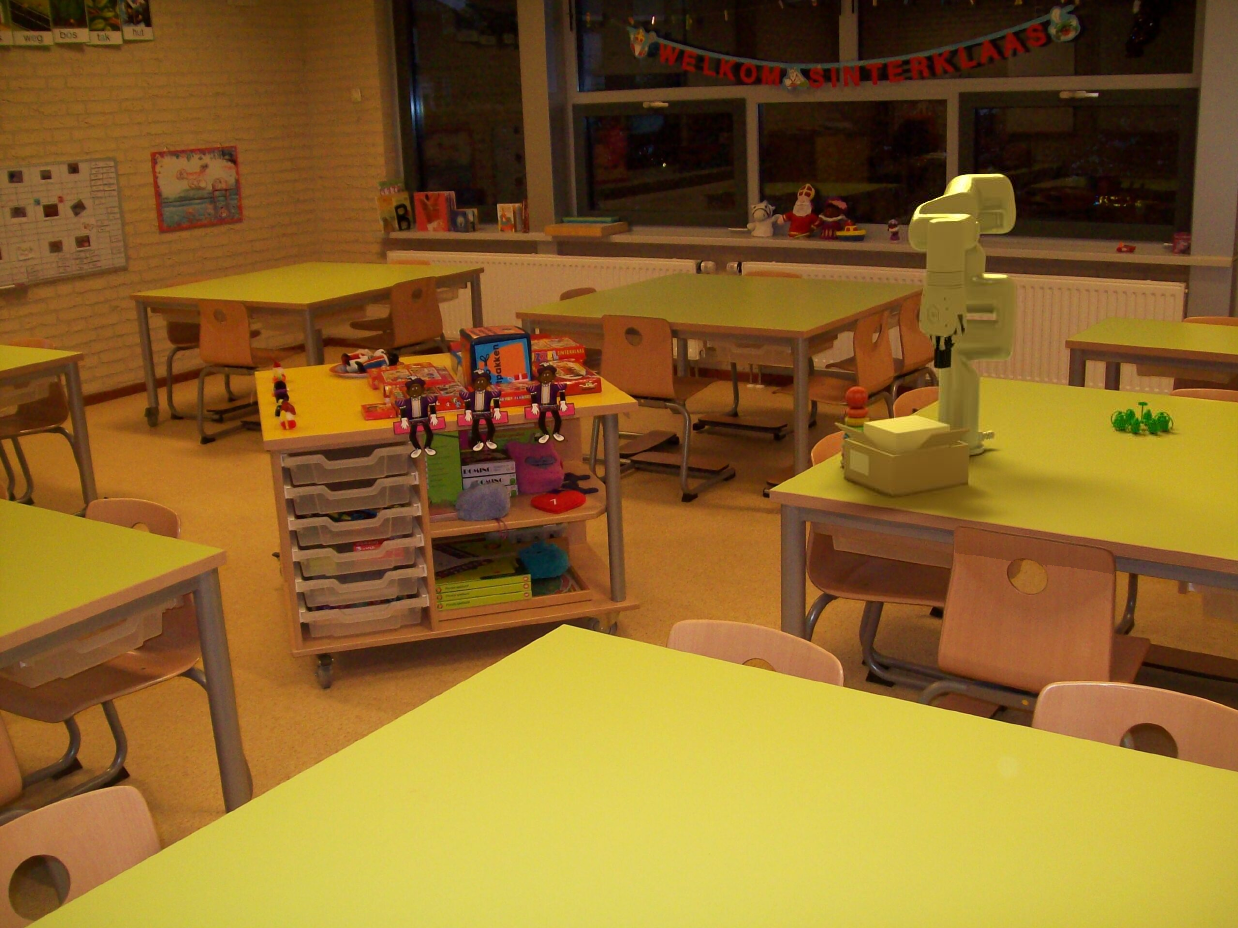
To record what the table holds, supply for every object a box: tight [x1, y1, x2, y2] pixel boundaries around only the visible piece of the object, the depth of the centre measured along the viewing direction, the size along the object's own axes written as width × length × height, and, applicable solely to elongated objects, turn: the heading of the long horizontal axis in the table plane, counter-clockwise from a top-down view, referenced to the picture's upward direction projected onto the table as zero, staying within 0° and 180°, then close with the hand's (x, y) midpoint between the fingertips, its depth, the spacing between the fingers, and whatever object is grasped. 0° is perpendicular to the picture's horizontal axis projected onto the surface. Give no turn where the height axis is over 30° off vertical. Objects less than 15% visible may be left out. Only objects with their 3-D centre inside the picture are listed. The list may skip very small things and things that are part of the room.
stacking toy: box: [840, 386, 870, 468], centre depth 282 cm, size 8×8×19 cm
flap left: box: [916, 427, 971, 450], centre depth 258 cm, size 10×7×1 cm
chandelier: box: [1110, 401, 1174, 435], centre depth 308 cm, size 15×15×7 cm
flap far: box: [834, 421, 882, 450], centre depth 263 cm, size 10×7×1 cm
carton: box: [843, 414, 970, 498], centre depth 269 cm, size 21×19×13 cm
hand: (942, 367), depth 255 cm, fingers closed
